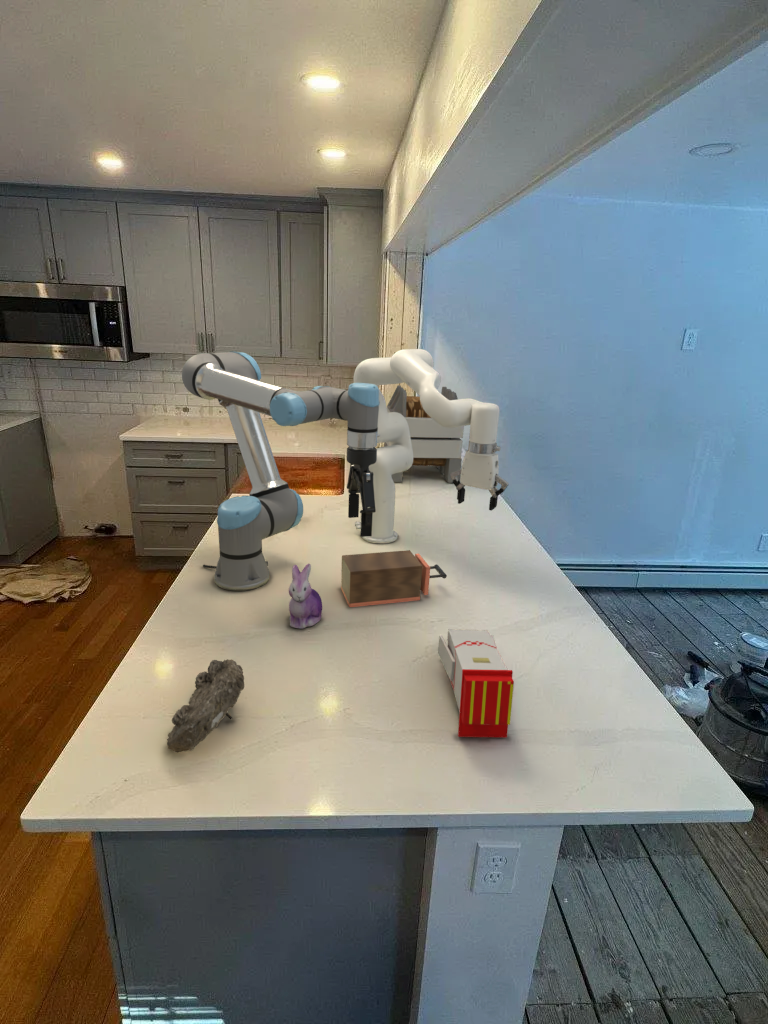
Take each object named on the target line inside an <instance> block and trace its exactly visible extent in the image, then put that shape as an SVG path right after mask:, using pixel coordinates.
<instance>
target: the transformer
mask: <svg viewBox="0 0 768 1024" xmlns="http://www.w3.org/2000/svg"><path fill="white" fill-rule="evenodd" d="M440 393H441V394H442V395H443V396H444V397H446V398H447V399H448V400H457V399H459V398H458V395H457V392H455V391H453V390H452V389H451V388H447V386H442V387H441V392H440ZM407 394H408V393H407V390H406V389H404V388H403V387H402V385H399V384H397V386H396V388H395V390H394V392H393V394H392V395H391V398H390V400H389V402H388V404H386V408H387V412H388V413H390V412H397V413H400V414H402V415H403V416H404V417H405V419H406V421H407V423H408V426H409V431H410V437H411V444H412V450H413V464H412V466H413V467H415V466H416V467H417V466H418V467H436V468H437V470H438V469H439V473H440V474H441V475H443V478H444V479H445V481H446V482H447V483H449V484H453V480H452V478H451V475H450V474H451V473H453V472H455V471H458V470H461V469H462V463H463V460H462V453H463V442H464V441H463V440H462V439H463V438H464V431H465V430H464V429H465V426H459V427H454V428H447V427H444V426H442V425H440V424H439V423H437V422H436V421H435V420H434V419H432V418H431V417H430V416H429V415H428V414H427V413H426V412H425V411H424V409H423V407H422V404H421V402H420V396H419V395H418V396H415V395H414V396H413V395H412V396H411V395H407ZM385 446H390V445H389V442H384V443H383V447H385ZM412 466H411V467H412ZM403 475H404V471H403V472H399V473H395V474H392V475H391V477H392V480H393V482H394V483H402V482H403ZM460 478H461V474H460V475H457V479H458V480H459V481H460ZM460 482H461V481H460Z"/></svg>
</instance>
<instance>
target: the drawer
mask: <svg viewBox="0 0 768 1024" xmlns="http://www.w3.org/2000/svg"><path fill="white" fill-rule="evenodd" d="M414 556H415V557H416V559H417V560H418V561H419V562H420V564H421V565H422V576H421V590H420V592H421V593H422V594H423V596H429V591H430V590H429V589H430V579H437V578H438V579H439V578H442V579H444V580H445V579H447V577H448V575H447V574H446V572H445V571H444V570H443V569H442V568H441V567H440V566H439V564H434V565H431V566H430V565H429V564H428V563H427V562H426V560H425V559H424V558H423V556H421V554H420V553H415V554H414ZM431 570H435V571H436V572H437V574H431Z"/></svg>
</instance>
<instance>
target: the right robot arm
mask: <svg viewBox="0 0 768 1024" xmlns="http://www.w3.org/2000/svg"><path fill="white" fill-rule="evenodd" d="M434 365H435V362H434V358H433V356H432V354H431V352H429V351H428V350H426V349H423V348H404V349H400V350H399V349H398V350H397V351H396V352H394V353H393V354H392V356H390V357H372V358H371V357H370V358H367V359H364V360H361V362H359V363H358V364H357V366H356V368H355V370H354V373H353V383H370V384H374V385H376V386H377V387H378V388H379V386H386V385H399V384H403V383H404V384H405V385H407V386H408V387H409V388H410V389H411V390H413V392H415V393H416V394H417V395H418V396H419V397H420V402H421V404H422V407H423V409H424V411H425V412H426V413H427V414H428V415H429V416H430V417H431V418H432V419H434V420H435V421H436V422H437V423H439V424H440V425H442V426H444V427H447V428H454V427H459V426H464V427H465V426H469V436H468V437H469V439H468V447H467V450H465V453H464V457H463V460H462V463H461V470H458V471H455V472H453V473H451V474H450V475H451V478H452V480H453V483H452V484H453V485H454V486H455V488H456V490H457V494H456V500H457V504H459V505H460V504H463V503H464V502H465V498H466V497H465V496H466V488H465V487H471V488H475V489H482V490H487V491H488V492H489V493H490V495H491V496H490V497H489V503H488V505H489V506H488V511H490V512H491V511H493V510H494V509H496V508H497V507H498V498H499V497H498V496H500V495H501V494H503V493H504V492H505V490H506V489H508V486H509V482H508V481H507V480H505V479H504V478H502V476H500V459H499V453H497V452H500V451H501V448H502V447H501V446H499V445H498V443H497V439H498V429H499V420H500V407H499V405H498V404H496V403H492V402H484V401H483V402H482V401H480V400H477V399H475V398H470V397H469V398H458V399H457V400H448V399H447V398H446V397H444V396H443V395H442V394H441V392H440V391H439V390H438V389H439V387H440V385H441V382H442V376H441V374H440V373H439V372H438V371H437V370H436V369H434ZM379 402H380V404H379V412H378V426H377V427H378V430H377V431H378V432H377V433H378V434H379V437H377V444H384V442H389V445H390V446H385V447H384V446H380V447H375V448H376V449H377V461H376V463H374V464H371V465H370V466H369V470H370V472H373V486H374V498H375V509H376V512H374V513H373V515H372V536H366V537H361V538H362V539H363V540H364V541H366V542H368V543H373V544H389V543H393V542H395V541H397V540H398V537H399V534H398V532H397V531H396V530H395V528H394V527H395V510H396V509H395V508H396V507H395V506H396V484H395V482H393V480H392V477H391V475H392V474H395V473H399V472H403V473H404V472H407V471H408V470H409V469H410V468H411V467H412V464H413V450H412V444H411V437H410V431H409V426H408V423H407V421H406V419H405V417H404V416H403V415H402V414H400V413H397V412H390V413H388V412H387V402H386V399H385V396H384V394H383V392H382V391H381V390H380V389H379ZM457 475H460V481H459V480H458V479H457ZM367 482H368V481H367ZM498 484H500V485H501V486H500V488H499V489H498V487H497V486H498ZM368 508H370V507H368ZM354 527H355V529H356V530H361V521H355V522H354Z"/></svg>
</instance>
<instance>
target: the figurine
mask: <svg viewBox="0 0 768 1024" xmlns="http://www.w3.org/2000/svg"><path fill="white" fill-rule="evenodd" d="M311 569H312V565H311V563H307V564H306V565H305V566H304V567H303V569H302V570H301V571H300V568H299V566H298V565H297V564H293V565H292V568H291V576H292V577H291V578H292V580H291V583H290V584H289V588H288V595H289V596H290V600H289V602H288V611H289V626H290V627H291V628H296V629H305V628H307V627H312V626H315V625H316V624H318V623H319V622H320V621H321V620H322V614H323V600H322V597H321V595H320V594H319V592H318V591H317V590H316V589H314V588H312V586H311V583H310V581H309V577H310V574H311Z"/></svg>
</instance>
